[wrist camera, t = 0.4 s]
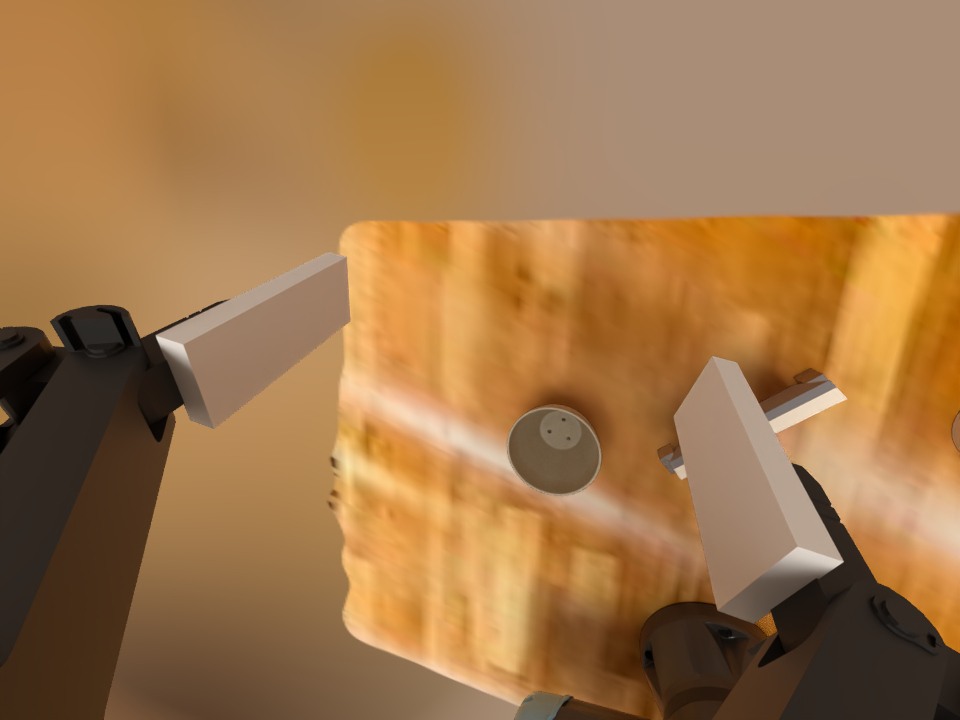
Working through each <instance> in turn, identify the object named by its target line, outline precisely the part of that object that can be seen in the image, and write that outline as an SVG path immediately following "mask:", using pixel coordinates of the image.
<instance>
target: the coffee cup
mask: <svg viewBox="0 0 960 720" xmlns="http://www.w3.org/2000/svg"><path fill="white" fill-rule="evenodd" d="M952 437H953V442H954V444H955V446H956V447H957V449H958V450H959V451H960V412H959V413H958V415H957V416H956V418H955V420H954V423H953V427H952Z"/></svg>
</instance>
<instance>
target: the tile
mask: <svg viewBox="0 0 960 720" xmlns="http://www.w3.org/2000/svg"><path fill="white" fill-rule="evenodd" d="M846 399H847V398H846V397H845V396H844V395H843V394H842V393H841V391H840V390H839V389H838V388H837V387H836V386H835V385H834V384H833V383H832V382H831V381H830V380H826V381H819V382H812V383H805V384H797V385H792V386H791V387H789V388H787V389H785V390H783V391H781V392H779V393H777V394H775V395H774V396H772V397H770V398H768V399H766V400H764V401H762V402H760V403H759V405H760V407H761V408H762V410H763V412H764V414H765V416H766V418H767V420H768V421H769V423H770V425H771V427H772V429H773V431H774V433H775V434H776V433H778V432H780V431H782V430H784V429H786V428H788V427H790V426H792V425H794V424H797V423H799V422H801V421H803V420H805V419H807V418H809V417H811V416H813V415H815V414H817V413H819V412H821V411H823V410H825V409H827V408H829V407H831V406H833V405H835V404H837V403H840V402H842V401H844V400H846ZM669 463H670V465H671V466H672V468H673V469H674V470H675V472H676V473H677V475H678V476H679V477H680V479H681V480H682V479H684V478H686V477H687V475H686V470H685V466H684V461H683V457H682V453H681V448H680V445H679V446H677V448H676V450H675V452H674V454H673V456H672V458H671V460H670V462H669Z"/></svg>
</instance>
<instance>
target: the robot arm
mask: <svg viewBox="0 0 960 720" xmlns="http://www.w3.org/2000/svg"><path fill="white" fill-rule="evenodd" d="M50 322H51V324H52V326H53V328H54V329H55V331H56V333H57V334H58V336H59V338H60V339H61V341H62V343H63V344H64V346H65V347H55V346H52V345H51V343H50V341H49V340H48V338H47V337H46V335H45V333H44V332H43V331H42V330H40V329H38V328H33V327H3V329H1V328H0V406H1V407H2V409H3V410H4V411H5V412H6V414H7V415H8V416H9V417H10V418H9V419H8V420H7V421H6V422H4V423H3V424H1V425H0V720H104V714H105V709H106V705H107V700H108V696H109V692H110V688H111V684H112V680H113V676H114V672H115V668H116V664H117V660H118V656H119V651H120V647H121V643H122V639H123V635H124V631H125V627H126V623H127V618H128V615H129V610H130V607H131V602H132V598H133V594H134V590H135V586H136V582H137V578H138V574H139V569H140V566H141V562H142V558H143V553H144V549H145V545H146V541H147V537H148V533H149V529H150V525H151V521H152V517H153V512H154V509H155V504H156V500H157V496H158V492H159V488H160V483H161V480H162V476H163V472H164V468H165V464H166V460H167V456H168V451H169V447H170V443H171V439H172V435H173V431H174V427H175V423H176V421H175V416H174V413H173V411H174V410H176V409H177V408H179V407H180V406H181V405H183V404H184V406H185V408H186V411H187V413H188V416H189V418H190V420H191V421H194V422H197V423H199V424H202V425H205V426H208V427H210V428H213V429H215V428H216V427H217V426H218V425H220V424H221V423H222V422H223V421H225V420H226V419H227V418H229V417H230V416H231V415H232V414H234V413H235V412H236V411H237V410H239V409H240V408H241V407H242V406H243V405H245V404H246V403H247V402H249V401H250V400H251V399H252V398H254V397H255V396H256V395H257V394H259V393H260V392H261V391H263V390H264V389H265V388H266V387H268V386H269V385H270V384H271V383H273V382H274V381H275V380H276V379H278V378H279V377H280V376H282V375H283V374H284V373H285V372H286V371H288V370H289V369H290V368H291V367H293V366H294V365H295V364H297V363H298V362H299V361H300V360H302V359H303V358H304V357H305V356H307V355H308V354H309V353H310V352H312V351H313V350H314V349H316V348H317V347H318V346H319V345H321V344H322V343H323V342H324V341H326V340H327V339H328V338H329V337H331V336H332V335H333V334H334V333H336V332H337V331H338V330H340V329H341V328H342V327H343V326H345V325H346V324H347V323H348V322H350V308H349V289H348V271H347V257H345V256H341V255H337V254H334V253H330V252H327V253H325V254H324V255H321V256H319V257H317V258H315V259H313V260H311V261H309V262H307V263H305V264H303V265H301V266H298V267H296V268H294V269H292V270H290V271H288V272H286V273H284V274H282V275H280V276H278V277H276V278H274V279H272V280H269V281H268V282H265V283H263V284H261V285H259V286H257V287H255V288H253V289H251V290H249V291H247V292H244V293H242V294H240V295H238V296H236V297H234V298H232V299H229V300H224V301H220V302H217V303H215V304H213V305H210V306H208V307H206V308H204V309H202V311H201V312H200V311H198V312H196V313H194V314H191V315H189V317H188V318H186V317H185V318H183V319H181V320H179V321H177V322H174V323H172V324H170V325H168V326H166V327H164V328H162V329H160V330H158V331H155V332H153V333H151V334H149V335H147V336H145V337H143V338H141V339H140V337H139V334H138V332H137V330H136V327H135V326H134V323H133V321H132V319H131V316H130V314H129V312H128V311H127V310H125V309H124V308H122V307H118V306H112V305H96V306H87V307H82V308H78V309H73V310H70V311H67V312H65V313H62V314H61V315H58V316H56V317H55V318H54V319H52V320H51V321H50ZM674 422H675V426H676V431H677V435H678V439H679V444H680V448H681V453H682V457H683V461H684V466H685V470H686V475H687V479H688V483H689V488H690V492H691V497H692V501H693V505H694V510H695V514H696V519H697V523H698V528H699V532H700V536H701V541H702V545H703V550H704V554H705V558H706V563H707V567H708V572H709V576H710V580H711V585H712V589H713V594H714V598H715V602H716V606H714V605H710V604H703V603H681V604H675V605H671V606H668V607H666V608H663V609H661V610H659V611H658V612H656V613H655V614H653V615H652V616H651V617H650V618H649V619H648V620H647V622H646V623H645V625H644V626H643V629H642V631H641V635H640V654H641V663H642V668H643V671H644V674H645V677H646V679H647V682H648V684H649V686H650V689H651V691H652V693H653V696H654V698H655V701H656V703H657V705H658V708H659V710H660V712H661V715H662V717H663V720H960V653H958V652H956V651H955V650H953V649H951V648H950V647H948V646H946V645H945V643H944V642H943V640H942V638H941V636H940V634H939V633H938V631H937V630H936V628H935V627H934V626H933V625H932V624H931V623H930V621H929V620H928V619H927V618H926V617H925V615H924V614H923V613H922V612H920V611H919V610H918V609H917V608H916V607H915V606H914V605H912V604H911V603H910V602H909V601H908V600H907V599H905V598H904V597H902V596H901V595H899V594H898V593H896V592H895V591H893V590H892V589H890V588H888V587H886V586H884V585H881V584H879V583H877V581H876V579H875V578H874V576H873V574H872V573H871V571H870V569H869V567H868V566H867V564H866V562H865V561H864V559H863V557H862V555H861V554H860V552H859V550H858V549H857V547H856V545H855V543H854V542H853V540H852V538H851V537H850V535H849V533H848V532H847V530H846V528H845V526H844V525H843V524H842V523H840V518H839V516H838V514H837V513H836V511H835V509H834V508H833V507H831V502H830V501H829V499H828V497H827V496H826V494H825V492H824V491H823V489H822V487H821V485H820V484H819V483H818V482H817V481H816V480H815V479H814V478H813V477H812V476H811V475H810V474H809V473H808V472H807V471H806V470H805V469H804V468H803V467H802V466H800V465H796V464H793V463H791V462H790V461H789V459H788V457H787V455H786V453H785V451H784V449H783V448H782V446H781V444H780V442H779V440H778V438H777V436H776V434H775V433H774V431H773V429H772V427H771V425H770V423H769V421H768V420H767V418H766V416H765V414H764V412H763V410H762V408H761V407H760V405H759V403H758V401H757V399H756V397H755V395H754V394H753V392H752V390H751V388H750V386H749V384H748V382H747V381H746V379H745V377H744V375H743V373H742V371H741V369H740V367H739V366H738V364H737V362H733V361H729V360H726V359H722V358H718V357H715V356H712V357H711V358H710V360H709V361H708V363H707V365H706V366H705V368H704V369H703V371H702V372H701V374H700V376H699V377H698V379H697V380H696V382H695V384H694V385H693V387H692V388H691V390H690V391H689V393H688V395H687V396H686V398H685V399H684V401H683V402H682V404H681V406H680V407H679V409H678V410H677V412H676V413H675V415H674ZM770 612H771V613H772V616H773V619H774V622H775V625H776V628H777V632H775V633H774V634H772V635H771V636H769V637H767V636H766V635H765V634H764V633H763V632H762V631H761V630H760V629H759V628H758V627H757V626H756V625H754V623H755V622H757V621H758V620H760V619H761V618H763V617H764V616H765V615H767V614H768V613H770ZM514 720H649V719H646V718H642V717H639V716H635V715H631V714H628V713H624V712H620V711H617V710H613V709H609V708H606V707H602V706H598V705H595V704H591V703H587V702H584V701H580V700H577V699H574V697H573V696H571V695H565V696H561V695H556V694H551V693H546V692H541V691H538V692H533V693H531V694H530V695H528V696H527V697H526V698H525V699H524V701H523V702H522V704H521V706H520V707H519V709H518V711H517V714H516V716H515V718H514Z"/></svg>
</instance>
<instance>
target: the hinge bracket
mask: <svg viewBox="0 0 960 720" xmlns="http://www.w3.org/2000/svg"><path fill="white" fill-rule="evenodd" d="M793 378H794V379H795V380H796V381H797V383H798V384H805V383H812V382H819V381H826V380H828V379H827V378H826V377H825V376H824V374H822V373H820V372H817V371H815V370H813V369H811V368H810V369H808V370H806V371H805V372H803V373H801V374H799V375H797V376H795V377H793ZM657 451H658V455H659V458H660V460H661V462H662V463H663V464H664V465H665V467H666V468H667V469H668V471H669V472H670V473H671V474H673V473H675V470H674V469H673V468H672V466H671V465H670V463H669V462H670V460H671V458H672V456H673V454H674V452H675V449H674V448H673V447H672V445H671V444H668V445H666V446H664V447H662V448H661V449H659V450H657Z"/></svg>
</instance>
